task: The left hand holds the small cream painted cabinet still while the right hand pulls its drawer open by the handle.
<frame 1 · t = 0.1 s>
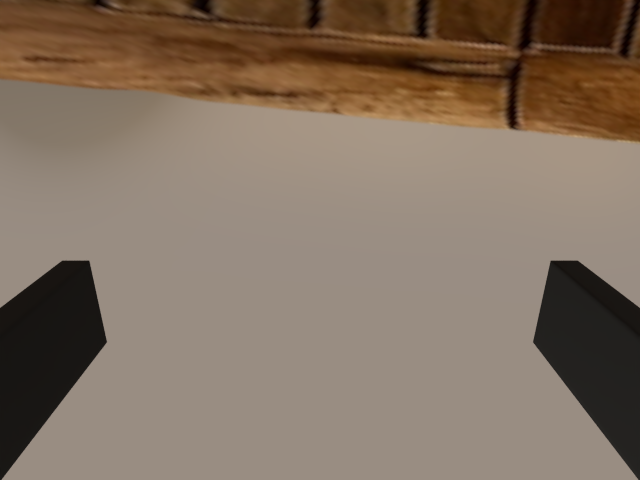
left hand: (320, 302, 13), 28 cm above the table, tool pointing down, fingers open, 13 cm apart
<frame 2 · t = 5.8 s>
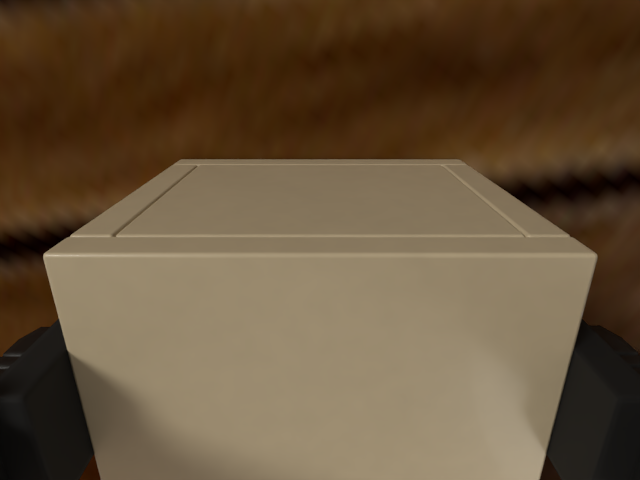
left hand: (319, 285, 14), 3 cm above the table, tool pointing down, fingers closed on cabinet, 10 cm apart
cabinet: (320, 394, 19), on the table, touching left hand
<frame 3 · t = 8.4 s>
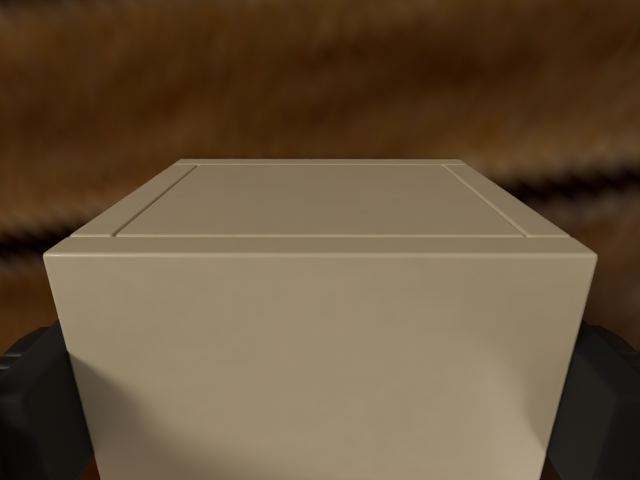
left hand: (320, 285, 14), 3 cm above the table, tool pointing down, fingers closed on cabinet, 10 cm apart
cabinet: (320, 394, 19), on the table, touching left hand
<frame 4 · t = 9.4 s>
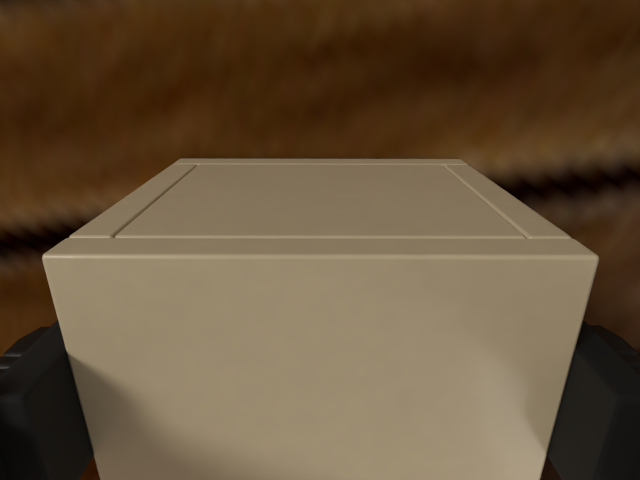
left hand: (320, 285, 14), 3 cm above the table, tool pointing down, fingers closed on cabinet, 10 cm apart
cabinet: (320, 393, 19), on the table, touching left hand
when the left hand's fingers open (3 cm above the table, at t = 11.4 s): cabinet stays where it is, on the table.
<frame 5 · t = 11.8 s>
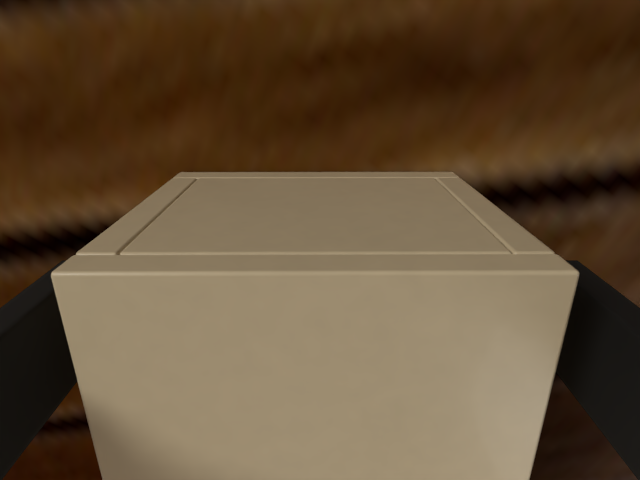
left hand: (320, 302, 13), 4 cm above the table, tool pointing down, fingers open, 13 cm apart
cabinet: (317, 400, 19), on the table
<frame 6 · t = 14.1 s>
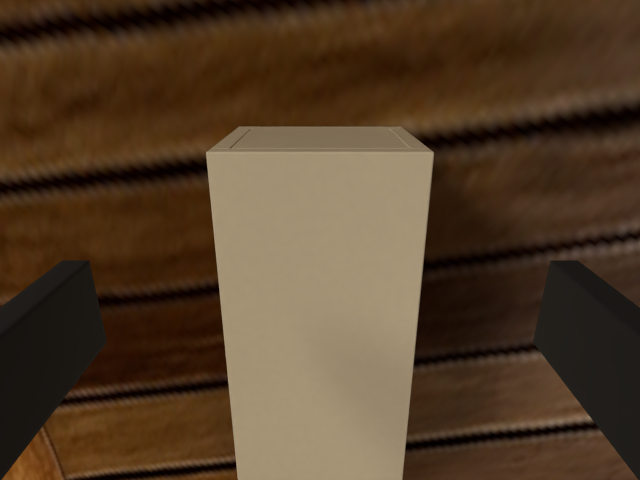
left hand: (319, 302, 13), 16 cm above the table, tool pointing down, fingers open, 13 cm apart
cabinet: (320, 279, 30), on the table
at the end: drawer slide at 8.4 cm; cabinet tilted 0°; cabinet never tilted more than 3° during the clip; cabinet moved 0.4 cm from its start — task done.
